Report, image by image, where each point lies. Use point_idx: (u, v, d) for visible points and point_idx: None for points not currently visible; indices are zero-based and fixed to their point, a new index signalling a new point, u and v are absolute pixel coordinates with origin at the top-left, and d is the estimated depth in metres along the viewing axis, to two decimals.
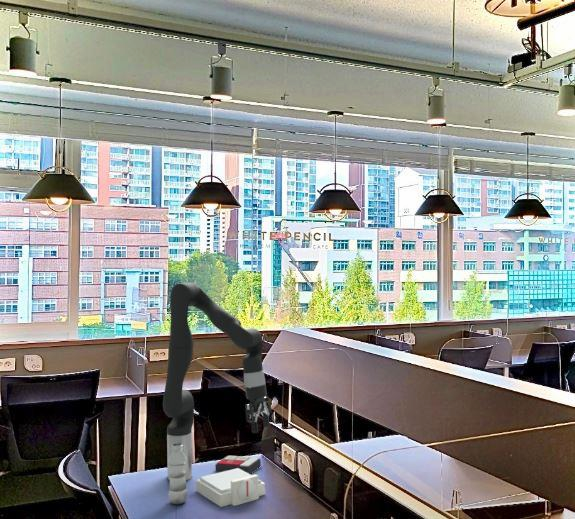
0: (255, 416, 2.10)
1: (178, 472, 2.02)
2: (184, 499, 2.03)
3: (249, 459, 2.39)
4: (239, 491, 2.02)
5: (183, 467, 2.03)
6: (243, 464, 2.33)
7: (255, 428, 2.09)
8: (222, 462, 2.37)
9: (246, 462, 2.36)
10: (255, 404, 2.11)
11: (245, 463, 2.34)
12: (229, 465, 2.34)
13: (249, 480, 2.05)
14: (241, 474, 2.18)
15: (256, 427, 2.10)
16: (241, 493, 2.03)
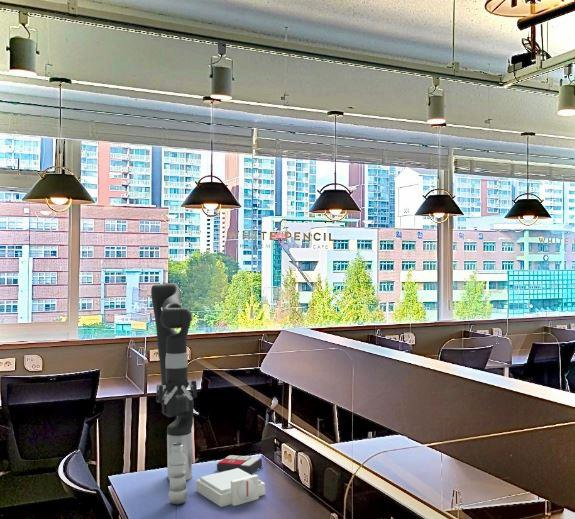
0: (166, 398, 2.02)
1: (178, 472, 2.02)
2: (184, 499, 2.03)
3: (250, 459, 2.40)
4: (239, 491, 2.02)
5: (183, 467, 2.03)
6: (244, 464, 2.34)
7: (164, 410, 2.02)
8: (223, 462, 2.37)
9: (247, 462, 2.36)
10: (168, 386, 2.03)
11: (246, 463, 2.35)
12: (230, 465, 2.35)
13: (249, 480, 2.05)
14: (241, 474, 2.18)
15: (165, 409, 2.02)
16: (241, 493, 2.03)
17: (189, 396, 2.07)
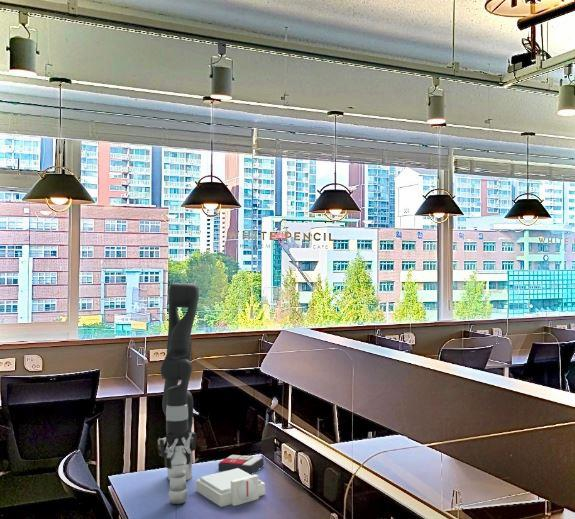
0: (168, 452, 2.02)
1: (178, 472, 2.02)
2: (184, 499, 2.03)
3: (252, 458, 2.40)
4: (239, 491, 2.02)
5: (183, 467, 2.03)
6: (245, 463, 2.34)
7: (167, 464, 2.02)
8: (225, 461, 2.38)
9: (249, 461, 2.36)
10: (169, 439, 2.02)
11: (248, 462, 2.35)
12: (232, 464, 2.35)
13: (249, 480, 2.05)
14: (241, 474, 2.18)
15: (168, 463, 2.02)
16: (241, 493, 2.03)
17: (187, 449, 2.06)
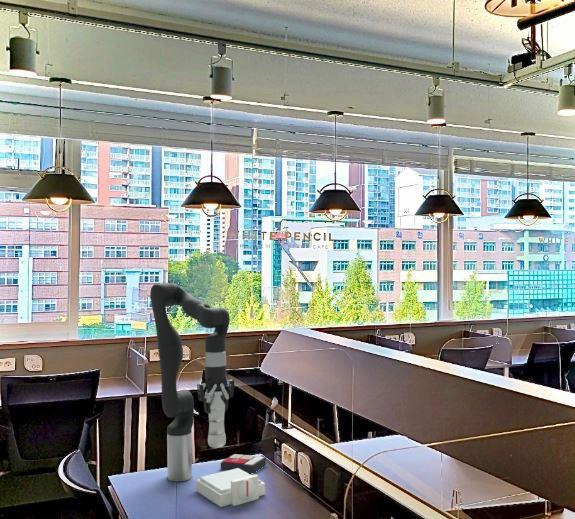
0: (207, 397, 2.09)
1: (217, 416, 2.09)
2: (223, 443, 2.10)
3: (254, 458, 2.41)
4: (239, 491, 2.02)
5: (222, 412, 2.10)
6: (247, 463, 2.35)
7: (206, 408, 2.09)
8: (227, 460, 2.39)
9: (251, 461, 2.37)
10: (208, 384, 2.09)
11: (249, 462, 2.36)
12: (234, 463, 2.36)
13: (249, 480, 2.05)
14: (241, 474, 2.18)
15: (207, 408, 2.09)
16: (241, 493, 2.03)
17: (226, 395, 2.13)
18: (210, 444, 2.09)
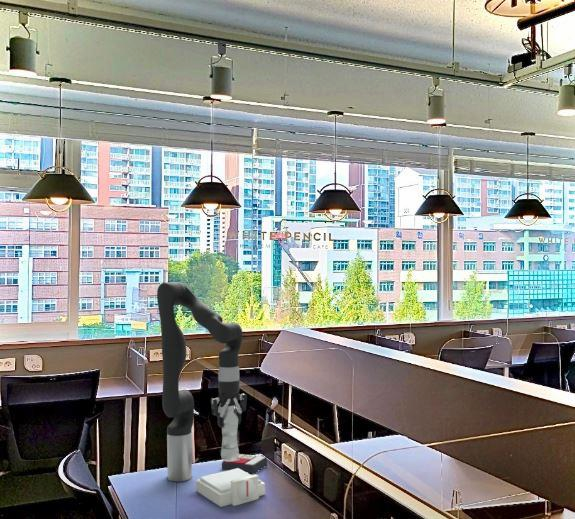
0: (221, 411, 2.11)
1: (231, 430, 2.11)
2: (236, 457, 2.12)
3: (255, 458, 2.41)
4: (239, 491, 2.02)
5: (235, 426, 2.12)
6: (248, 463, 2.35)
7: (220, 423, 2.11)
8: None
9: (252, 461, 2.37)
10: (222, 399, 2.11)
11: (250, 462, 2.36)
12: (235, 463, 2.36)
13: (249, 480, 2.05)
14: (241, 474, 2.18)
15: (221, 422, 2.11)
16: (241, 493, 2.03)
17: (239, 410, 2.15)
18: (223, 458, 2.11)
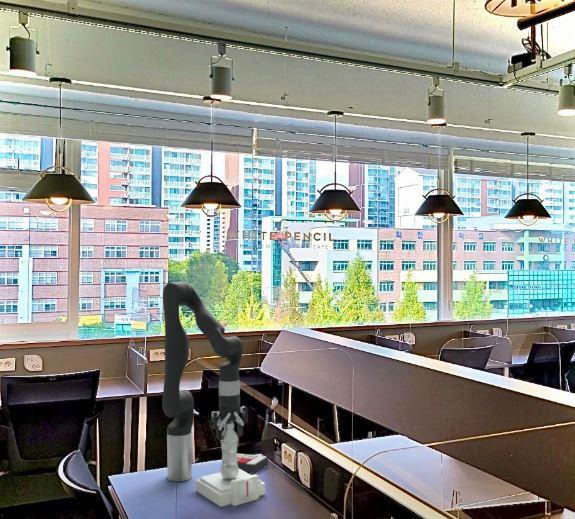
0: (220, 424, 2.10)
1: (231, 449, 2.11)
2: (236, 475, 2.12)
3: (256, 457, 2.41)
4: (239, 491, 2.02)
5: (235, 444, 2.12)
6: (249, 462, 2.35)
7: (218, 436, 2.10)
8: None
9: (253, 460, 2.38)
10: (222, 412, 2.11)
11: (252, 461, 2.36)
12: None
13: (249, 480, 2.05)
14: (241, 474, 2.18)
15: (220, 435, 2.11)
16: (241, 493, 2.03)
17: (241, 422, 2.15)
18: (223, 476, 2.11)
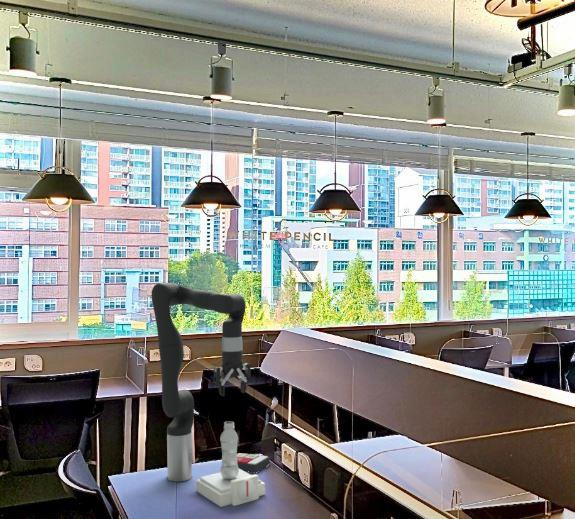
0: (223, 380, 2.12)
1: (231, 449, 2.11)
2: (236, 475, 2.12)
3: (258, 457, 2.42)
4: (239, 491, 2.02)
5: (235, 444, 2.12)
6: (251, 462, 2.36)
7: (221, 391, 2.12)
8: None
9: (254, 460, 2.38)
10: (225, 368, 2.13)
11: (253, 461, 2.37)
12: (237, 462, 2.37)
13: (249, 480, 2.05)
14: (241, 474, 2.18)
15: (222, 390, 2.12)
16: (241, 493, 2.03)
17: (244, 378, 2.17)
18: (223, 476, 2.11)
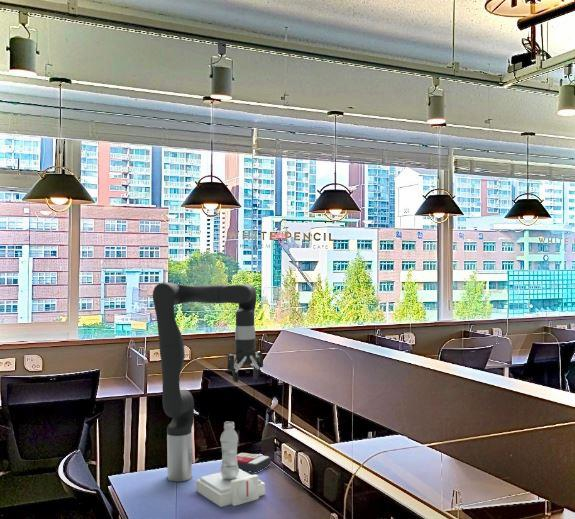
0: (236, 367, 2.20)
1: (231, 449, 2.11)
2: (236, 475, 2.12)
3: (259, 457, 2.42)
4: (239, 491, 2.02)
5: (235, 444, 2.12)
6: (251, 462, 2.36)
7: (235, 378, 2.20)
8: None
9: (255, 460, 2.38)
10: (239, 356, 2.21)
11: (254, 461, 2.37)
12: (238, 462, 2.38)
13: (249, 480, 2.05)
14: (241, 474, 2.18)
15: (236, 377, 2.21)
16: (241, 493, 2.03)
17: (256, 365, 2.25)
18: (223, 476, 2.11)
